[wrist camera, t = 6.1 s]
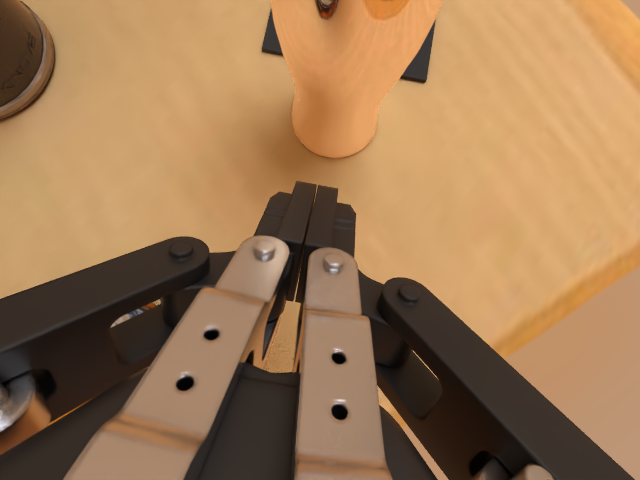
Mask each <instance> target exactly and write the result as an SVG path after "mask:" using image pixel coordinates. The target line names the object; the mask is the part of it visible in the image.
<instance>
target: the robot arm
mask: <svg viewBox="0 0 640 480" xmlns="http://www.w3.org/2000/svg"><path fill="white" fill-rule="evenodd" d="M53 63H54V46H53V41H52V38H51V35H50V33H49V31H48V29H47V27H46V26H45V24H44V23H43V22H42V20H41V19H40V18H39V17H38V16H37V15H36V14H35V13H34V12H33V11H32V10H31V9H30V8H29V7H28V6H27V5H26V4H25V3H23V2H22V1H20V0H0V120H1V119H4V118H6V117H9V116H11V115H13V114H15V113H17V112H19V111H20V110H22V109H23V108H25V107H26V106H27V105H29V104H30V103H31V102H32V101H33V100H34V99H35V98H36V97H37V96H38V95H39V94H40V92H41V91H42V90H43V88H44V87H45V85H46V83H47V81H48V79H49V77H50V75H51V72H52V68H53ZM316 186H317V185H316V184H310V183H305V182H300V181H296V184H295V187H294V190H293V192H292V194H289V193H284V192H278V193H277V194H275V195H274V196H272V197H271V198H270V200H269V202H268V204H267V208H266V209H265V211H264V215H263V216H262V218H261V220H260V222H259V225H258V227H257V229H256V232H255V234H254V236H253V237H250V238H248V239H246V240H245V241H243V242H242V244H241V245H240V247H239V248H238V250H236V251H232V252H222V253H209V248H208V246H207V245H206V244H205V243H204V242H203V241H201V240H199V239H196V238H193V237H175V238H171V239H167V240H165V241H162V242H159V243H156V244H153V245H151V246H148V247H145V248H142V249H139V250H136V251H134V252H131V253H128V254H125V255H122V256H120V257H117V258H114V259H111V260H108V261H106V262H103V263H100V264H97V265H94V266H92V267H89V268H86V269H83V270H80V271H78V272H75V273H72V274H69V275H66V276H64V277H61V278H58V279H55V280H52V281H49V282H47V283H44V284H41V285H38V286H35V287H33V288H30V289H27V290H24V291H21V292H19V293H16V294H13V295H10V296H7V297H5V298H2V299H0V480H438V479H437V478H436V477H435V475H434V474H433V472H432V471H431V469H430V468H429V467H428V465H427V464H426V462H425V461H424V459H423V458H422V457H421V455H420V454H419V452H418V451H417V449H416V448H415V446H414V445H413V444H412V442H411V441H410V439H409V438H408V436H407V435H406V434H405V432H404V431H403V429H402V428H401V427H400V425H399V424H398V423H397V422H396V420H395V419H394V418H393V417H392V416H391V415H390V414H389V413H388V412H387V411H386V410H385V409H384V408H383V407H381V406H380V405H379V399H378V390H377V385H378V387H379V388H380V389H381V391H382V392H383V393H384V394H385V396H386V397H387V398H388V400H389V401H390V402H391V404H392V405H393V406H394V408H395V409H396V410H397V412H398V413H399V414H400V416H401V417H402V418H403V420H404V421H405V422H406V424H407V425H408V426H409V428H410V429H411V430H412V431H413V433H414V434H415V435H416V437H417V438H418V439H419V441H420V442H421V443H422V445H423V446H424V447H425V449H426V450H427V451H428V453H429V454H430V455H431V457H432V458H433V459H434V461H435V462H436V463H437V465H438V466H439V467H440V469H441V470H442V471H443V472H444V474H445V475H446V476H447V478H448V479H449V480H635V479H634V478H632V477H631V476H630V475H629V474H628V473H627V472H626V471H625V470H624V469H623V468H622V467H620V466H619V465H618V464H617V463H616V462H615V461H614V460H613V459H612V458H611V457H610V456H608V455H607V454H606V453H605V452H604V451H603V450H602V449H601V448H600V447H599V446H598V445H596V444H595V443H594V442H593V441H592V440H591V439H590V438H589V437H588V436H587V435H585V434H584V433H583V432H582V431H581V430H580V429H579V428H578V427H577V426H576V425H575V424H574V423H573V422H572V421H570V420H569V419H568V418H567V417H566V416H565V415H564V414H563V413H562V412H561V411H559V410H558V409H557V408H556V407H555V406H554V405H553V404H552V403H551V402H550V401H549V400H548V399H546V398H545V397H544V396H543V395H542V394H541V393H540V392H539V391H538V390H537V389H536V388H535V387H533V386H532V385H531V384H530V383H529V382H528V381H527V380H526V379H525V378H524V377H523V376H521V375H520V374H519V373H518V372H517V371H516V370H515V369H514V368H513V367H512V366H510V365H509V364H508V363H507V362H506V361H505V360H504V359H503V358H502V357H501V356H500V355H499V354H498V353H496V352H495V351H494V350H493V349H492V348H491V347H490V346H489V345H488V344H487V343H486V342H484V341H483V340H482V339H481V338H480V337H479V336H478V335H477V334H476V333H475V332H474V331H473V330H471V329H470V328H469V327H468V326H467V325H466V324H465V323H464V322H463V321H462V320H461V319H459V318H458V317H457V316H456V315H455V314H454V313H453V312H452V311H451V310H450V309H449V308H447V307H446V306H445V305H444V304H443V303H442V302H441V301H440V300H439V299H438V298H437V297H436V296H434V295H433V294H432V293H431V292H430V291H429V290H428V289H427V288H426V287H424V286H423V285H422V284H420V283H418V282H416V281H414V280H411V279H408V278H399V277H398V278H392V279H390V280H388V281H387V282H386V283H385V284H384V285H383V284H381V283H379V282H377V281H374V280H372V279H370V278H368V277H367V276H365V275H364V274H363V273H362V272H361V271H360V270H359V269H358V266H357V263H356V261H355V259H354V249H355V223H356V213H355V212H354V210H353V208H352V207H351V205H348V204H343V203H337V195H338V189H337V188H332V187H327V186H321V185H318V189H317V193H316ZM315 193H316V197H315ZM314 199H315V202H314ZM313 205H314V206H313ZM300 269H301V270H300ZM299 273H300V276H299ZM298 278H299V282H298ZM297 282H298V288H297V294H296V300H295V302H299V303H301V305H300V311H299V316H298V322H297V330H296V340H295V349H294V359H293V369H292V372H288V373H270V372H267V371H265V370H263V368H264V365H265V362H266V359H267V357H268V354H269V351H270V348H271V345H272V343H273V340H274V337H275V334H276V331H277V328H278V326H279V323H280V319H281V314H282V312H283V310H284V307H285V303H286V300H288V301H293V300H294V296H295V291H296V287H297ZM158 299H160V301H161V304H160V305H158V306H155V307H153V308H151V309H149V310H147V311H145V312H143V313H141V314H139V315H136V316H134V317H132V318H130V319H128V320H126V321H124V322H122V323H119V324H117V325H115V326H113V327H111V326H112V324H113V323H114V322H115V321H116V320H117V319H119V318H120V317H122V316H124V315H126V314H128V313H130V312H132V311H134V310H137V309H139V308H141V307H143V306H145V305H147V304H150V303H152V302H154V301H156V300H158ZM110 327H111V328H110ZM412 350H413V351H414V352H415V353H416V354H417V355H418V356H419V357H420V358H421V359H422V361H423V362H424V363H425V364H426V365H427V366H428V367H429V368H430V369H431V371H432V372H433V373H434V374H435V375H436V376H437V378H438V379H439V380H438V379H437V378H436V377H435V376H434V375H433V374H432V372H431V371H430V370H429V369H428V368H427V367H426V366H425V365H424V363H423V362H422V361H421V360H420V359H419V358H418V357H417V356H416V355H415V353H414V352H413V351H412ZM148 366H150V367H149V368H146V367H148ZM145 368H146V369H145ZM143 369H144V370H143ZM141 370H142V371H141ZM99 394H100V395H99ZM94 397H95V398H94ZM89 400H90V401H89ZM87 401H88V402H87ZM86 402H87V403H86ZM84 403H85V404H84ZM82 404H83V405H82ZM80 405H82V406H80ZM79 406H80V407H79ZM77 407H78V408H77ZM75 408H77V409H75ZM73 409H75V410H73ZM72 410H73V411H72ZM70 411H72V412H70ZM68 412H70V413H68ZM66 413H68V414H67V415H65V414H66ZM63 415H65V416H64V417H62V418H60V419H59V420H57V421H55V422H54V423H52V424H50V425H49V423H51V422H53V421H54V420H56V419H58V418H59V417H61V416H63ZM48 425H49V426H48Z"/></svg>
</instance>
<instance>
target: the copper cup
mask: <svg viewBox="0 0 640 480" xmlns="http://www.w3.org/2000/svg"><path fill="white" fill-rule="evenodd" d="M270 2H271V8H272V14H273V20H274V25H275V29H276V33H277V36H278V40H279V43H280V47H281V50H282V53H283V56H284V59H285V61H286V64H287V67H288V70H289V72H290V75H291V78H292V80H293V83H294V86H295V89H296V93H295V97H294V100H293V105H292V111H291V119H292V125H293V129H294V131H295V134H296V135H297V137H298V139H299V140H300V141H301V143H302V144H303V145H304V146H305V147H307V148H308V149H309V150H311V151H312V152H314V153H316V154H318V155H321V156H324V157H329V158H343V157H347V156H350V155H353V154H355V153H357V152H359V151H360V150H362V149H363V148H364V147H365V146H366V145H367V144H368V143H369V142H370V141H371V139H372V138H373V136H374V134H375V131H376V129H377V125H378V111H379V105H380V103H381V101H382V100H383V99H384V97H385V96H386V95H387V94H388V92H389V91H390V90H391V89H392V87H393V86H394V85H395V84H396V82H397V81H398V80H399V78H400V77H401V76H402V75H403V73H404V72H405V71H406V69H407V68H408V66H409V65H410V63H411V62H412V60H413V59H414V57H415V56H416V54H417V53H418V51H419V50H420V48H421V46H422V44H423V42H424V40H425V38H426V36H427V35H428V33H429V31H430V29H431V27H432V25H433V23H434V21H435V19H436V16H437V14H438V12H439V9H440V7H441V5H442V2H443V0H270Z"/></svg>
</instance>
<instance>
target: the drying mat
mask: <svg viewBox="0 0 640 480" xmlns="http://www.w3.org/2000/svg"><path fill="white" fill-rule="evenodd" d="M435 20H436V19H435ZM434 26H435V21H434V23H433V25H432V27H431V29H430V31H429V33H428V35H427V36H426V38H425V40H424V42H423V44H422V46H421V48H420V50H419V51H418V53H417V54H416V56H415V57H414V59H413V60H412V62H411V63H410V65H409V66H408V68H407V69H406V71H405V72H404V73H403V75H402V76H401V77H400V78H404V79H409V80H414V81H419V82H424V83H425V82H426V80H427V73H428V66H429V60H430V53H431V46H432V40H433V33H434ZM262 51H263V52H268V53H274V54H279V55H283V53H282V50H281V47H280V43H279V40H278V36H277V33H276V29H275V25H274V20H273V14H272V8H271V12H270V16H269V20H268V25H267V29H266V33H265V38H264V42H263V46H262Z"/></svg>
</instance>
